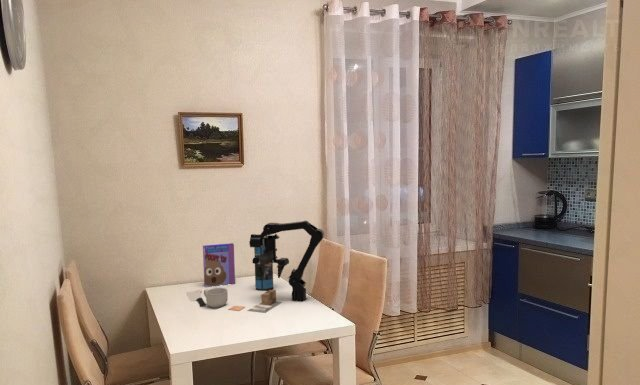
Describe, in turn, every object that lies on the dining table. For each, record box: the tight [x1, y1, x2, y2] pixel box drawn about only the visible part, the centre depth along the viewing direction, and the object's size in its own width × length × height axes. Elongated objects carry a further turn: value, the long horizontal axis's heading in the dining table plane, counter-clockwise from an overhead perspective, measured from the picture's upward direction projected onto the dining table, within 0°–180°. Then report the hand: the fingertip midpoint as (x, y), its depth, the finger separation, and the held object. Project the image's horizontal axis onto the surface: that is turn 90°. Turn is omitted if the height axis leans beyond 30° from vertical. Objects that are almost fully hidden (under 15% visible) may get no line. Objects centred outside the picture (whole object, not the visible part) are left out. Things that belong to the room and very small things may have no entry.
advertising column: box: [253, 235, 274, 292], centre depth 251 cm, size 11×11×30 cm
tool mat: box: [246, 300, 283, 314], centre depth 219 cm, size 10×18×1 cm, turn 157°
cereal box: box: [202, 243, 236, 288], centre depth 264 cm, size 17×5×24 cm, turn 111°
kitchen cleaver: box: [185, 289, 207, 308], centre depth 236 cm, size 31×2×10 cm
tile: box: [227, 305, 246, 312], centre depth 216 cm, size 6×2×6 cm
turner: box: [249, 289, 277, 312], centre depth 219 cm, size 16×8×6 cm, turn 158°
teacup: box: [203, 287, 229, 309], centre depth 224 cm, size 14×11×8 cm
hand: (271, 277), depth 231 cm, fingers open, 9 cm apart
